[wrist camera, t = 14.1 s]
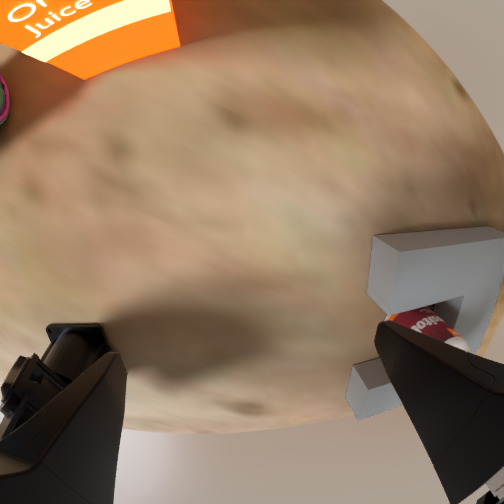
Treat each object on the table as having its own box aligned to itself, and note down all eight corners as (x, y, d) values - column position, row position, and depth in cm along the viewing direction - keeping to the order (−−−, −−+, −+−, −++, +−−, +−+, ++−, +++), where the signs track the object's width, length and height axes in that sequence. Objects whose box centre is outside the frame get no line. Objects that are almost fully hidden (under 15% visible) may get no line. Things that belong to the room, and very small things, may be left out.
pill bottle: (430, 294, 26) (496, 351, 16) (412, 341, 28) (466, 402, 18) (386, 298, 25) (456, 369, 15) (370, 349, 27) (422, 422, 17)
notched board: (345, 396, 30) (357, 420, 26) (372, 235, 23) (399, 251, 19) (450, 359, 32) (465, 375, 28) (489, 226, 25) (512, 236, 21)
